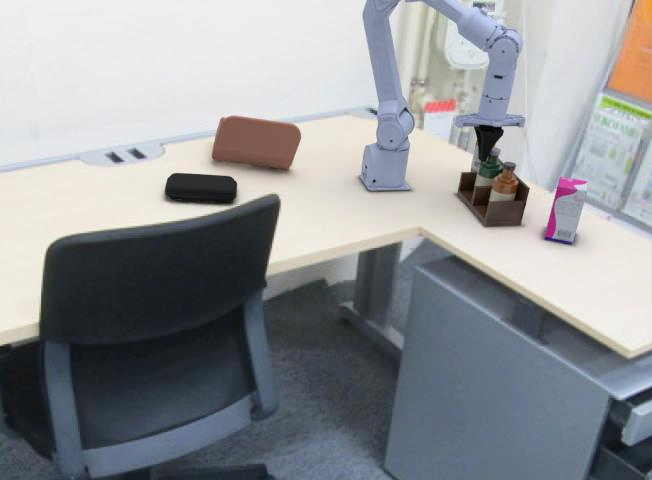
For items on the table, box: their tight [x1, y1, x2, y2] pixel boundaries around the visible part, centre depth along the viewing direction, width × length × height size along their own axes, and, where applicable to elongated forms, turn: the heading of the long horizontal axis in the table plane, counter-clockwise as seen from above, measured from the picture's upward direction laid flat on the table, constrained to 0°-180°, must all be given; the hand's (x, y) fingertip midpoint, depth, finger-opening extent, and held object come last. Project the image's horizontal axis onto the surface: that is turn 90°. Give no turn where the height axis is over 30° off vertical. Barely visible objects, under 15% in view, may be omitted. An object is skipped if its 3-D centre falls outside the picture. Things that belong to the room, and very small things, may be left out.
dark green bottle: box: [473, 146, 503, 192], centre depth 189 cm, size 5×5×10 cm
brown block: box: [211, 114, 302, 170], centre depth 200 cm, size 16×17×15 cm
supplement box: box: [543, 176, 589, 245], centre depth 178 cm, size 6×6×12 cm
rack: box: [456, 157, 531, 227], centre depth 187 cm, size 8×16×8 cm, turn 12°
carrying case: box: [164, 172, 238, 204], centre depth 185 cm, size 11×3×15 cm
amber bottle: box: [487, 161, 519, 208], centre depth 183 cm, size 5×5×10 cm
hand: (482, 160), depth 187 cm, fingers closed
